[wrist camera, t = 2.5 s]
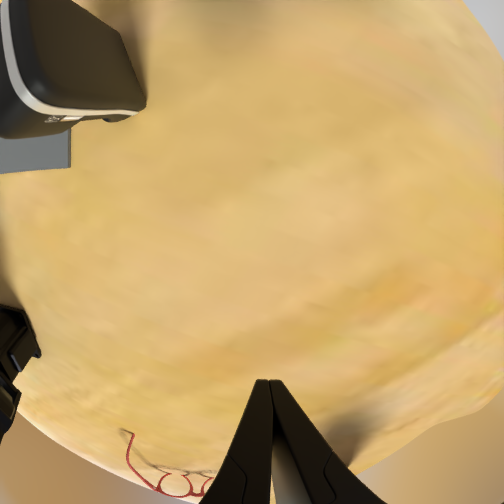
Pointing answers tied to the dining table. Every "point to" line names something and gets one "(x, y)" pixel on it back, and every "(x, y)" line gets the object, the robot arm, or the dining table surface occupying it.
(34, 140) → the mat
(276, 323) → the dining table surface
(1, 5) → the battery charger
